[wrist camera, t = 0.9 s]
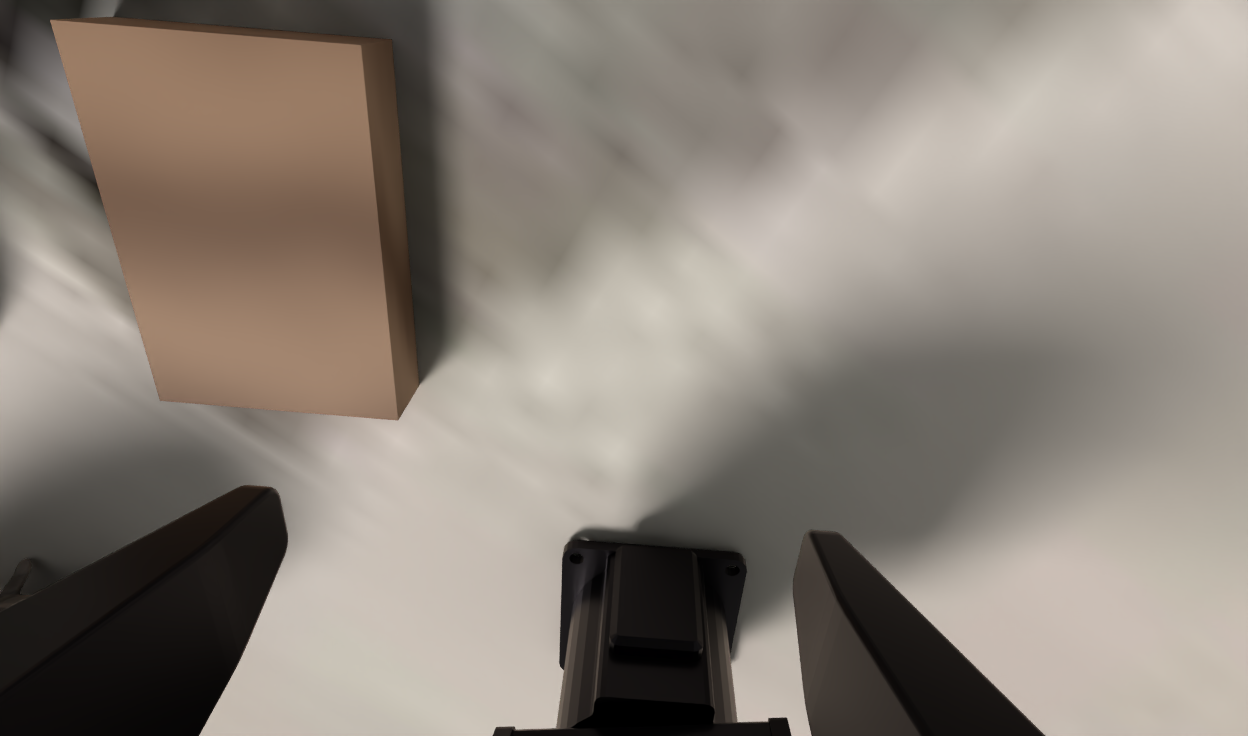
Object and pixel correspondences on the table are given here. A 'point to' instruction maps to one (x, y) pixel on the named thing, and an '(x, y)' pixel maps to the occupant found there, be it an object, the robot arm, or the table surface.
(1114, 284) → the table surface
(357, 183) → the tan rectangular slab
